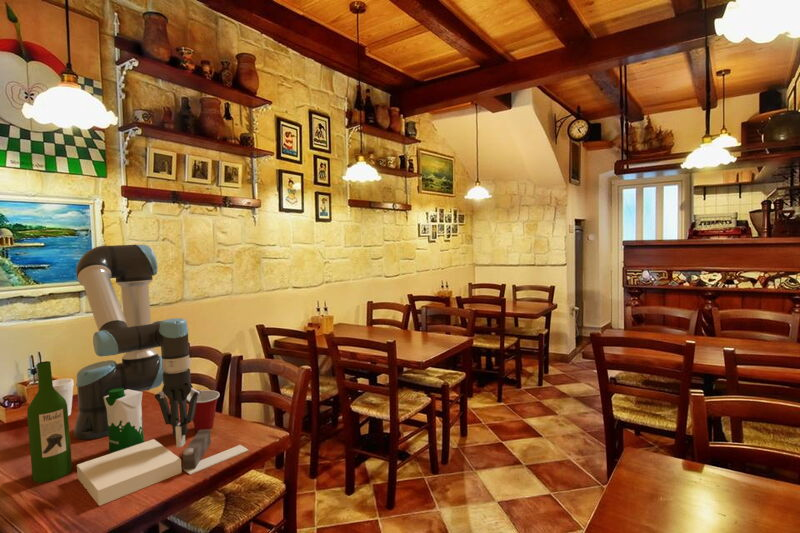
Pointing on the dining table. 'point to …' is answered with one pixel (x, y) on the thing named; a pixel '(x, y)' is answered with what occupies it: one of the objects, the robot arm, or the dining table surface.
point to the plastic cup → (205, 409)
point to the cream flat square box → (127, 471)
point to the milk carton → (124, 418)
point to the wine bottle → (48, 430)
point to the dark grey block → (196, 449)
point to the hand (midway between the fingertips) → (181, 445)
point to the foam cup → (65, 390)
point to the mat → (217, 459)
